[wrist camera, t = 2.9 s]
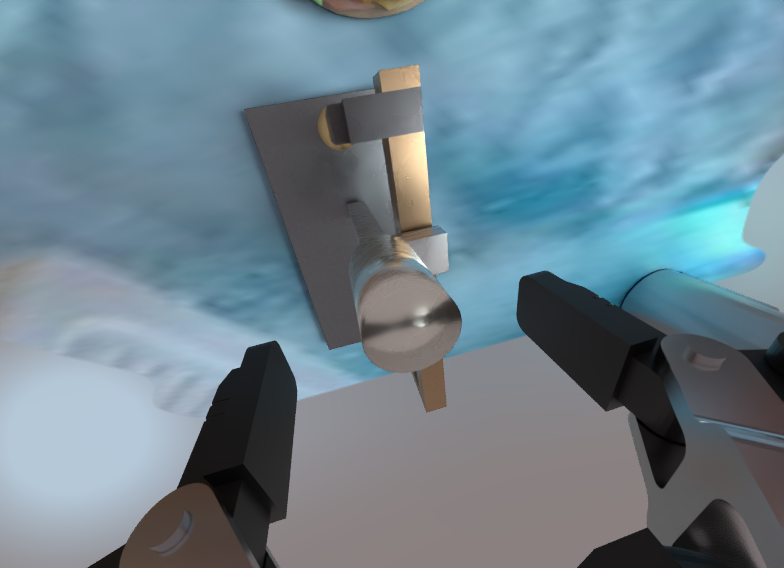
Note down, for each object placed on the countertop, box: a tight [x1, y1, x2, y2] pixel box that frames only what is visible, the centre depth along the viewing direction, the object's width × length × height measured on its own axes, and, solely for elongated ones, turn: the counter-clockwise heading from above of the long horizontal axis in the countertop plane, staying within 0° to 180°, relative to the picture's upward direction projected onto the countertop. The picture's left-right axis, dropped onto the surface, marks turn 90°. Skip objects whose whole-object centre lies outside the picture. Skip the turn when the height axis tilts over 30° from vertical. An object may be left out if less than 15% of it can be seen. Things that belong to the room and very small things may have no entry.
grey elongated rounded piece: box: [347, 201, 462, 373], centre depth 16 cm, size 5×3×17 cm
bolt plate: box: [244, 65, 446, 412], centre depth 21 cm, size 12×22×12 cm, turn 9°
